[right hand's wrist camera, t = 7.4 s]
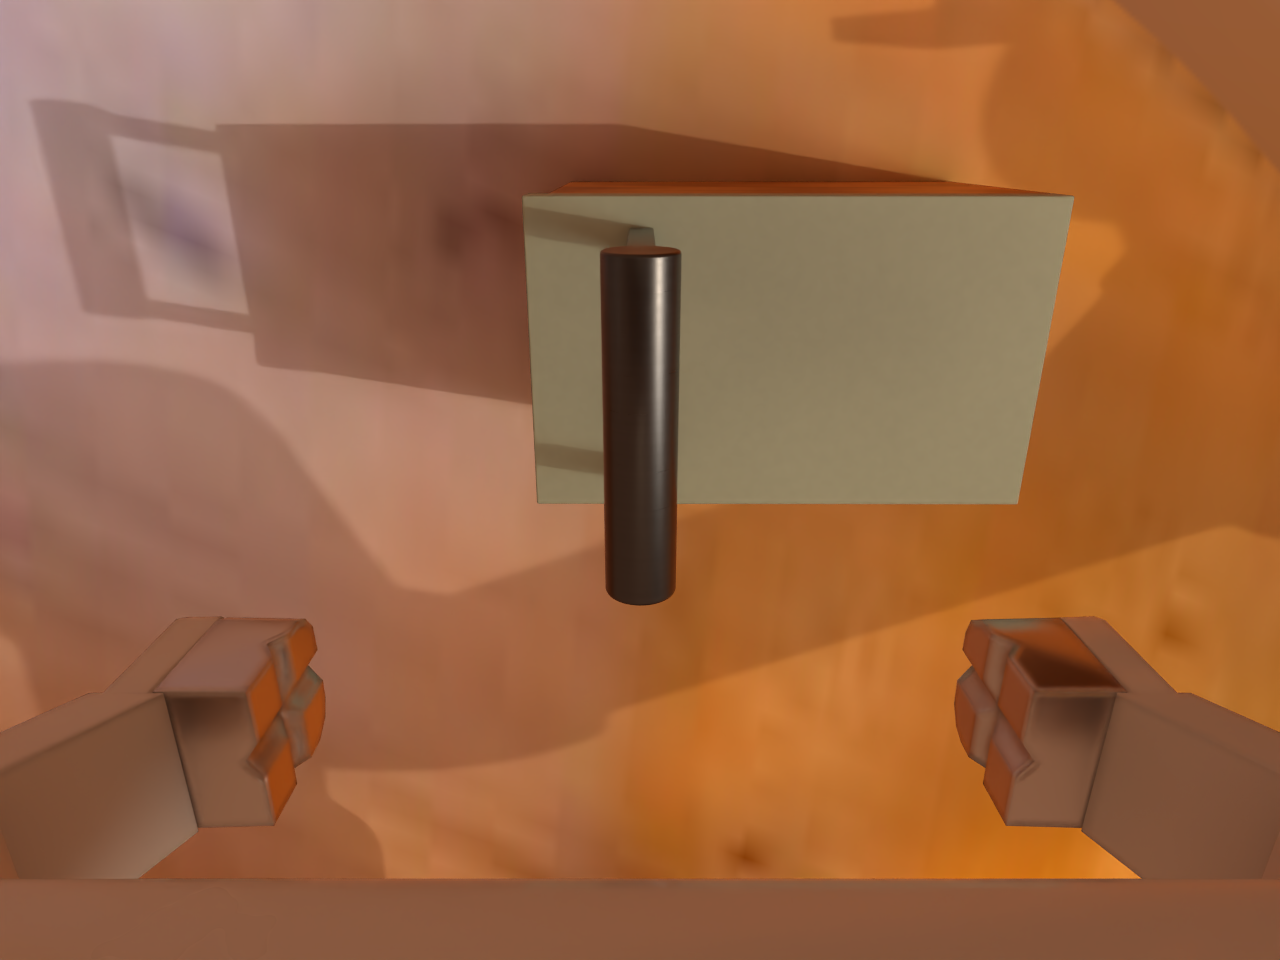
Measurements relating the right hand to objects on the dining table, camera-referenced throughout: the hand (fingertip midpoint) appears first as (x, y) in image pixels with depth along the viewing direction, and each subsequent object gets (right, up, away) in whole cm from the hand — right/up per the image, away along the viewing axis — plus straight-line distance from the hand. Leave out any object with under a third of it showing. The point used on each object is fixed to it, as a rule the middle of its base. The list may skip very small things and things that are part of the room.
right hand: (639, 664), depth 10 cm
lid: (+4, +6, +16) cm, 18 cm away
